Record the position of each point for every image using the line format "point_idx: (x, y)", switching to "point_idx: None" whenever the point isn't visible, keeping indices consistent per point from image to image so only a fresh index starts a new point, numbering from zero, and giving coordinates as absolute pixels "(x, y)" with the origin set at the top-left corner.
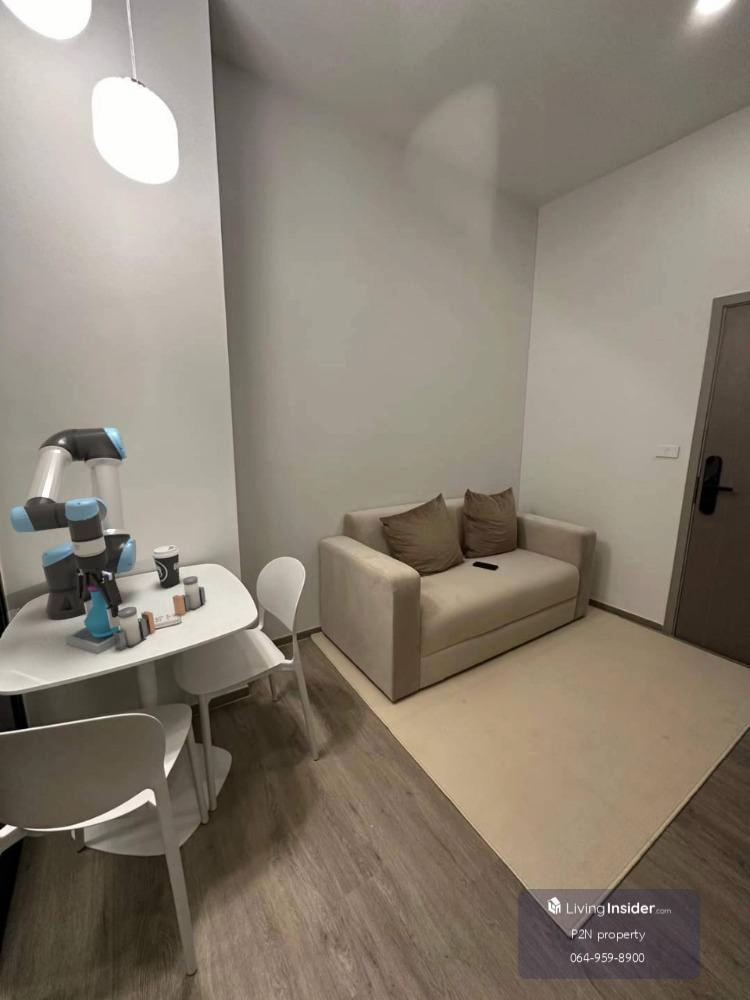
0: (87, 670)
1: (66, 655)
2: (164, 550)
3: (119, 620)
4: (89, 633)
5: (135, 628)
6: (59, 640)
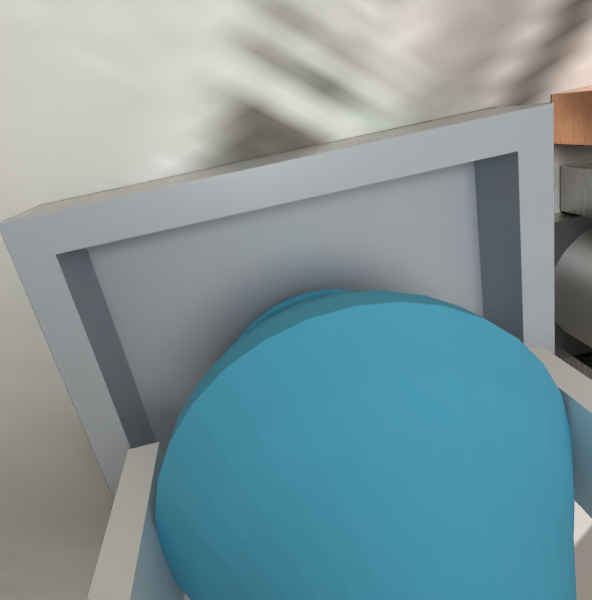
0: (578, 538)
1: None
2: None
3: (571, 373)
4: (153, 442)
5: None
6: (16, 570)
